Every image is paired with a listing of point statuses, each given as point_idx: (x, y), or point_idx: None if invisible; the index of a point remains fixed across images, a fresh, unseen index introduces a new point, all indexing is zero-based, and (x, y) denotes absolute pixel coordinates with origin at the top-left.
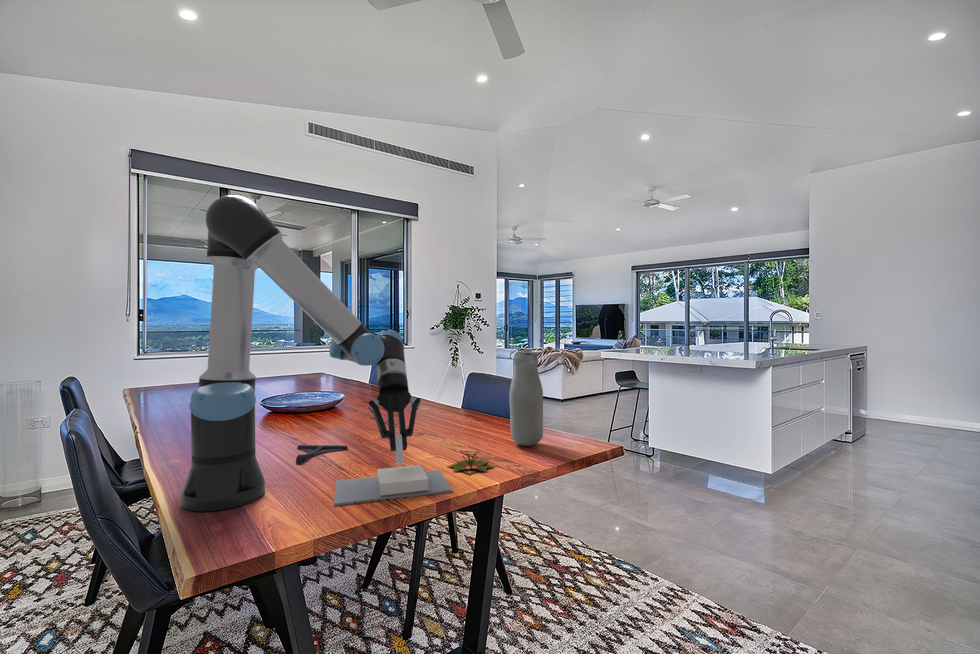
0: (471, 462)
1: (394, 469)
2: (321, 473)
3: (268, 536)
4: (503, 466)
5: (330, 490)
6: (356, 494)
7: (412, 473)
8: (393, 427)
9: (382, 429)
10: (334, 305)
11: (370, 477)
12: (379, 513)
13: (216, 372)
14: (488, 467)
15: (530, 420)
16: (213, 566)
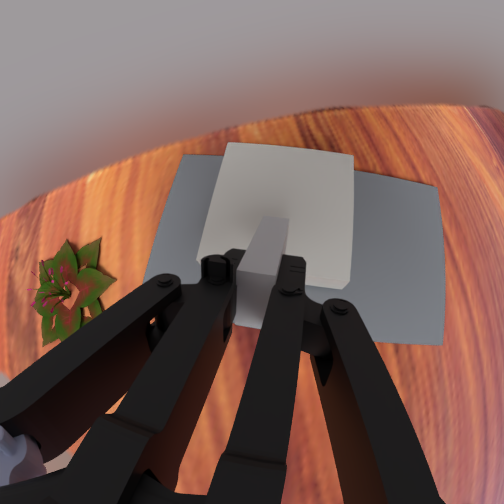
0: (60, 291)
1: (294, 252)
2: (453, 438)
3: (485, 140)
4: (29, 262)
5: (451, 290)
6: (399, 214)
7: (251, 192)
8: (273, 313)
9: (352, 316)
10: None
11: None
12: (351, 124)
13: None
14: (48, 268)
15: None
16: (498, 113)
